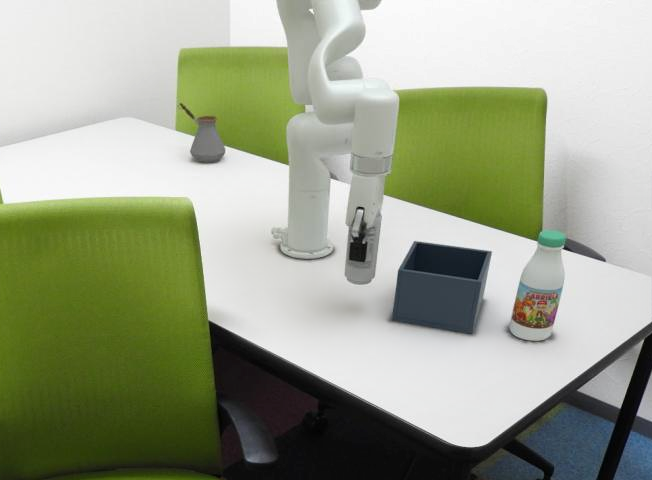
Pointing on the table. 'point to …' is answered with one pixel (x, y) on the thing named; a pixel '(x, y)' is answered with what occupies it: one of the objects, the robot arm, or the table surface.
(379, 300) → the table surface
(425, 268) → the open storage box
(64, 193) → the table surface
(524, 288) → the milk bottle
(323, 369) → the table surface
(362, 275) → the energy drink can
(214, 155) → the coffee pot
